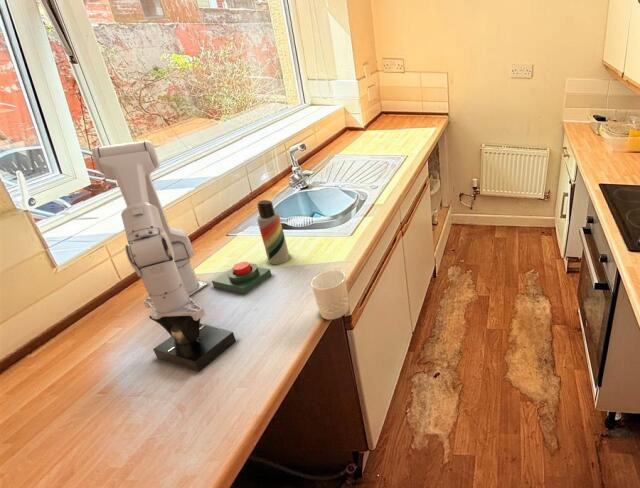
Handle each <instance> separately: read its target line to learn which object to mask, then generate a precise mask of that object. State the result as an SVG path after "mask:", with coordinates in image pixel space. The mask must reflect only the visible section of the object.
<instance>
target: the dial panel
mask: <svg viewBox="0 0 640 488" xmlns="http://www.w3.org/2000/svg"><path fill="white" fill-rule="evenodd" d="M199 330H200V335H199V337H198V338H196V339H195V340H194V341H192V342H189V343H187V344H183V345H178V344H176V342H175V339H174V337H172V336H171V335H170V337H168V338H166V339H165V340H164V341H162V342H161V343H160V344H158V345H157V346H155V347H154V348H152V350H153V353H154V354H155V355H154V356H155V357H156V360H159V361H162V362H165V363H169V364H172V365H175V366H179V367H182V368H185V369H188V370H192V371H195V372H198V373H199V372H202V370H204V369H205V368H206V367H207V366H208V365H210V364H211V363H212V362H214V361H215V360H216V359H217V358H219V357H220V356H221V355H222V354H223V353H224V352H226V351H227V350H228V349H229V348H230V347H232V346H233V345H235V343H237V340H236V336H235V334H234V331H231V330H227V329H223V328H219V327H217V326H212V325H208V324H205V323H201V322H200V327H199Z"/></svg>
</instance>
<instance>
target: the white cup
mask: <svg viewBox="0 0 640 488" xmlns="http://www.w3.org/2000/svg"><path fill="white" fill-rule="evenodd" d="M310 285H311V288H312V292H313V296H314V298H315V302H316V305H317V308H318V310H319V313H320V316H321V318H322V319H325V320H327V321H329V320H331V321H333V320H336V319H340V318H342V317H344V316H345V315H347V313H348V312H349V308H350V303H349V292H348V285H347V277H346V273H345V272H343V271H342V270H338V269H332V270H331V269H329V270H326V271H323V272H320V273H318V274H317V275H315V276H314V277H313V278H312V280H311V281H310Z"/></svg>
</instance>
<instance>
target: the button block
mask: <svg viewBox="0 0 640 488" xmlns="http://www.w3.org/2000/svg"><path fill="white" fill-rule="evenodd" d="M249 263H250V262H249ZM250 267H251V271H250V272H248V273H246V274H243V275H235V274H234V271H233V267H231V268H230V269H228V270H227V271H225V272H223V273H222V274H220V275H218V276H217V277H216V278H214V279H212V280H211V284H212V286H213V288H216V289H220V290H224V291H229V292H232V293H236V294H240V295H247V294H248V293H250V292H251V291H252V290H254V289H256V288H257V287H258V286H260V285H261V284H263V282H265V281H266V280H268V279H269V278H271V277H272V271H271V269H268V268H264V267H259V266H258V265H257V264H255V263H250Z"/></svg>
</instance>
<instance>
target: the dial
mask: <svg viewBox="0 0 640 488" xmlns="http://www.w3.org/2000/svg"><path fill="white" fill-rule="evenodd" d="M171 333H172V335H173V337H174V339H175V342H176V344H178V345H183V344H187V343H189V342H188V341H187V340H186V338H185V337H184V335H183V334H182V332H181V331H180V330H179V329H178V328H177V327H176V326H173V327H172V328H171Z"/></svg>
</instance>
